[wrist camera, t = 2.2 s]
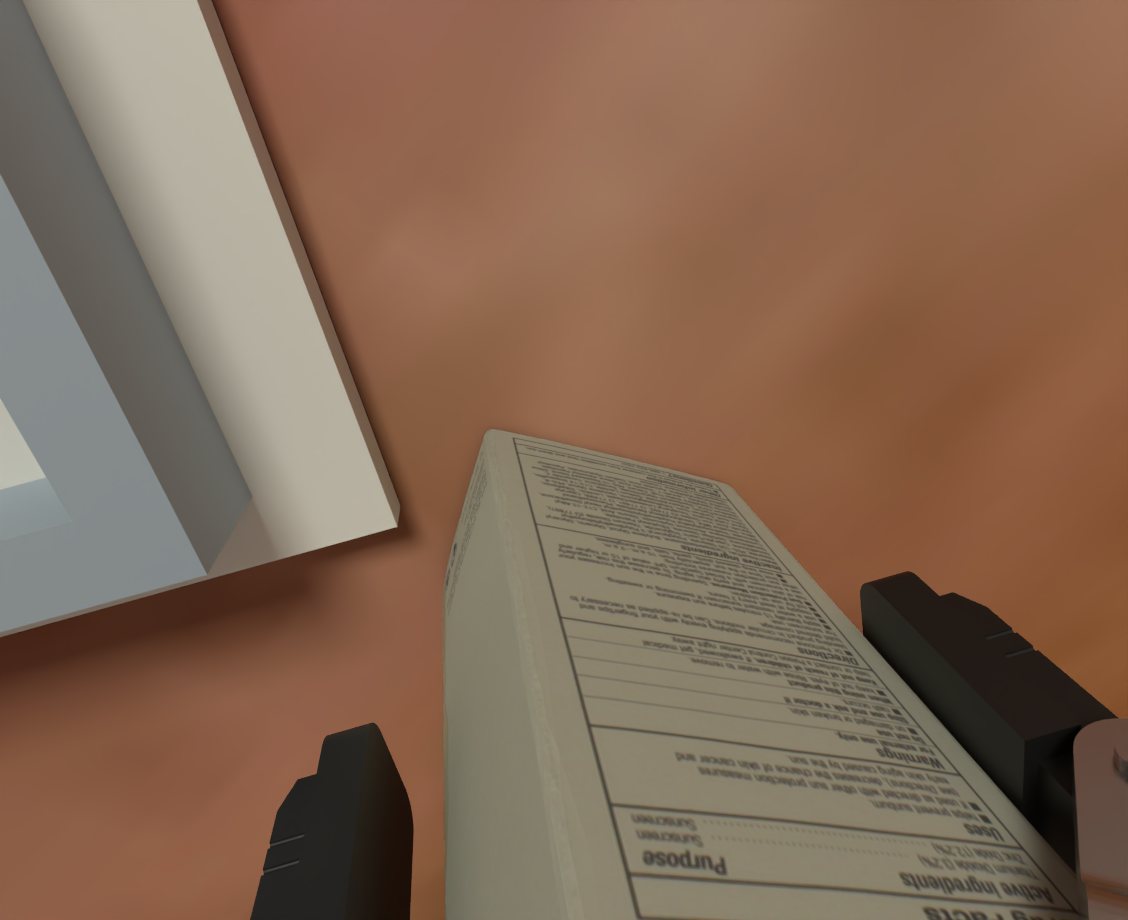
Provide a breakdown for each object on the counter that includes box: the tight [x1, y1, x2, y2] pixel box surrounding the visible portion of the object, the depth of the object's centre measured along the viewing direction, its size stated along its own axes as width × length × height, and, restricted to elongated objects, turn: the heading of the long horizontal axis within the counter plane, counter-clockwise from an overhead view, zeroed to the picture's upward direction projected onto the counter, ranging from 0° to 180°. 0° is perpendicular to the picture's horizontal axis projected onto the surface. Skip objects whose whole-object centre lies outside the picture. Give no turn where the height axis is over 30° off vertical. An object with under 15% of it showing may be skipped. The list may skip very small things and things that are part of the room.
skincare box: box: [442, 429, 1078, 920], centre depth 12 cm, size 6×4×12 cm
